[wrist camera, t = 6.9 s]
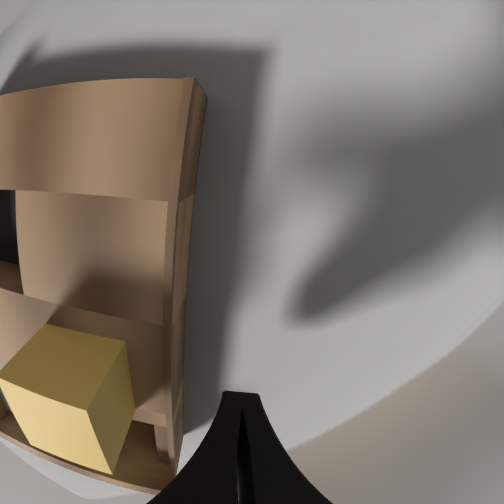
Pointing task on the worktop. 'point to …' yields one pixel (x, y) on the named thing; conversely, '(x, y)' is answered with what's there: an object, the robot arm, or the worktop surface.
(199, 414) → the worktop surface
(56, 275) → the box
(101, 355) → the ochre block
